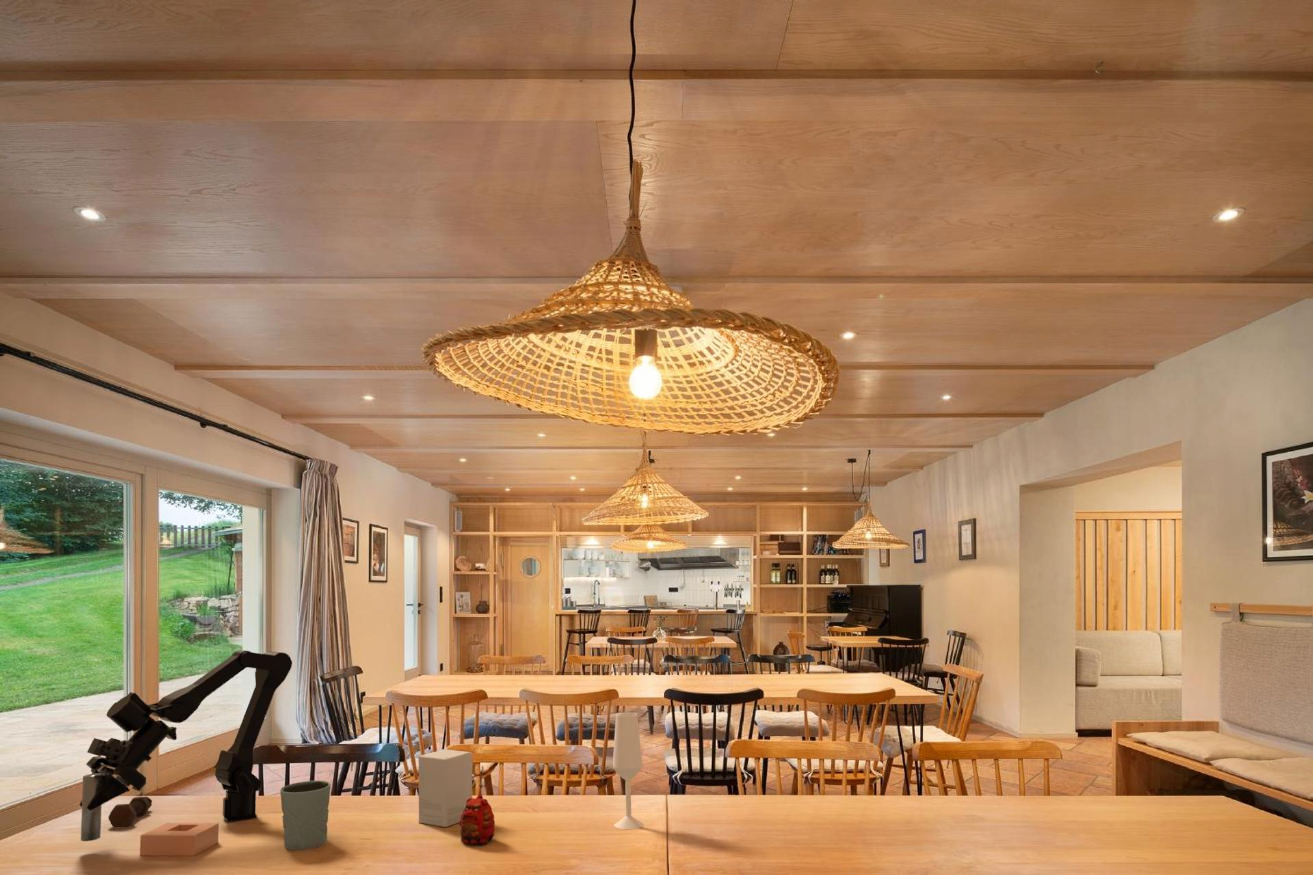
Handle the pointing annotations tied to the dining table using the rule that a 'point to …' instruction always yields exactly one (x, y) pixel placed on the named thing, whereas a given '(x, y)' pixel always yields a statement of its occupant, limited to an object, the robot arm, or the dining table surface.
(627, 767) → the champagne flute
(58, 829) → the dining table surface
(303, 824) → the green cup
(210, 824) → the socket block
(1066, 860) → the dining table surface
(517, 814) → the dining table surface
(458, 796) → the supplement box
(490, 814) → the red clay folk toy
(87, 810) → the peg
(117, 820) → the bolt
